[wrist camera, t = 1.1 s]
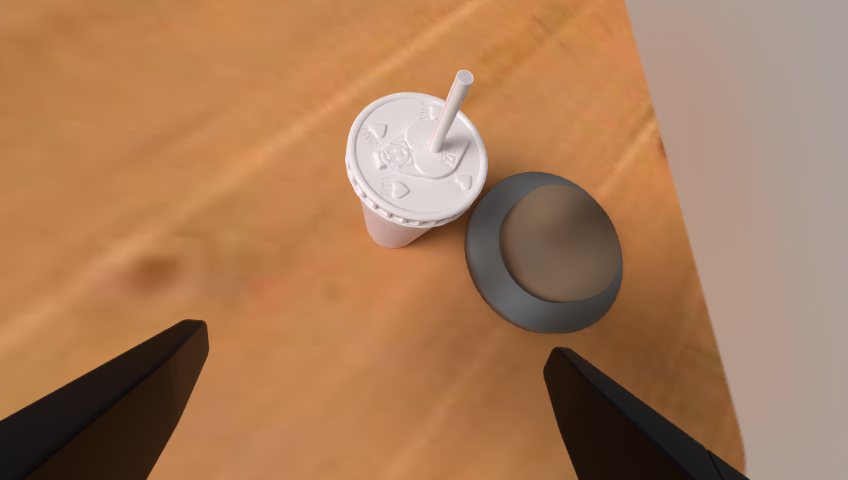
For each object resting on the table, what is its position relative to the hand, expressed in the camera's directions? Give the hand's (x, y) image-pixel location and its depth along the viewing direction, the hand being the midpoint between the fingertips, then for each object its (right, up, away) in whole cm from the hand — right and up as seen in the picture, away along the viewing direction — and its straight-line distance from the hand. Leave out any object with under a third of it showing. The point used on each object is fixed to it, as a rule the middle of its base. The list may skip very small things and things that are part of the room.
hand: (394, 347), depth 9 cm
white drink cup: (-1, +4, +15) cm, 16 cm away
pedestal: (+10, +2, +17) cm, 19 cm away
